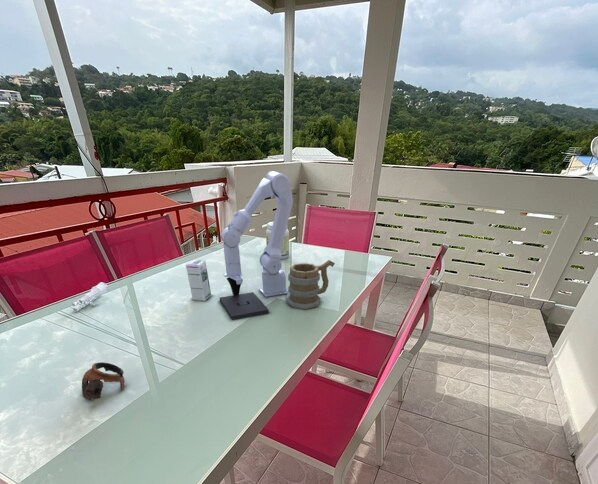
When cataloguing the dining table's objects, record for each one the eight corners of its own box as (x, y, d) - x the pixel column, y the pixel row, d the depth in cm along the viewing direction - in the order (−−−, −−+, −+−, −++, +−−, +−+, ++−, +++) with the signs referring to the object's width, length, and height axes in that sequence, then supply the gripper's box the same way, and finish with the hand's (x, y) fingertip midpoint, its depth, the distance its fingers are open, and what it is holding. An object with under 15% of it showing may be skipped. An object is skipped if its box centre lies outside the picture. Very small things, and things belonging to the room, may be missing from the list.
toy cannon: (81, 316, 123) (68, 306, 121) (103, 301, 134) (91, 292, 132) (89, 303, 119) (76, 293, 117) (112, 288, 130) (100, 279, 129)
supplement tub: (266, 253, 184) (265, 221, 174) (288, 252, 185) (288, 220, 176) (267, 260, 174) (265, 226, 164) (290, 259, 175) (290, 226, 166)
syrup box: (205, 301, 131) (199, 265, 123) (191, 299, 132) (185, 263, 124) (211, 295, 136) (206, 260, 127) (198, 294, 137) (192, 259, 128)
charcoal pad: (259, 302, 131) (259, 299, 130) (268, 313, 123) (268, 309, 122) (225, 308, 126) (224, 305, 125) (232, 320, 118) (231, 316, 118)
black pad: (253, 295, 137) (253, 292, 136) (261, 305, 129) (261, 301, 128) (219, 300, 132) (219, 297, 131) (226, 311, 124) (225, 307, 123)
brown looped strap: (86, 384, 88) (94, 356, 86) (123, 394, 91) (132, 368, 89) (66, 404, 77) (75, 373, 75) (109, 415, 80) (119, 385, 78)
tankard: (296, 311, 125) (297, 272, 116) (282, 299, 134) (281, 262, 125) (340, 301, 132) (344, 264, 124) (324, 290, 142) (326, 255, 133)
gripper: (217, 257, 130) (222, 290, 138) (227, 269, 119) (231, 303, 127) (235, 255, 133) (238, 287, 140) (246, 266, 122) (248, 300, 130)
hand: (236, 295), depth 134 cm, fingers closed
